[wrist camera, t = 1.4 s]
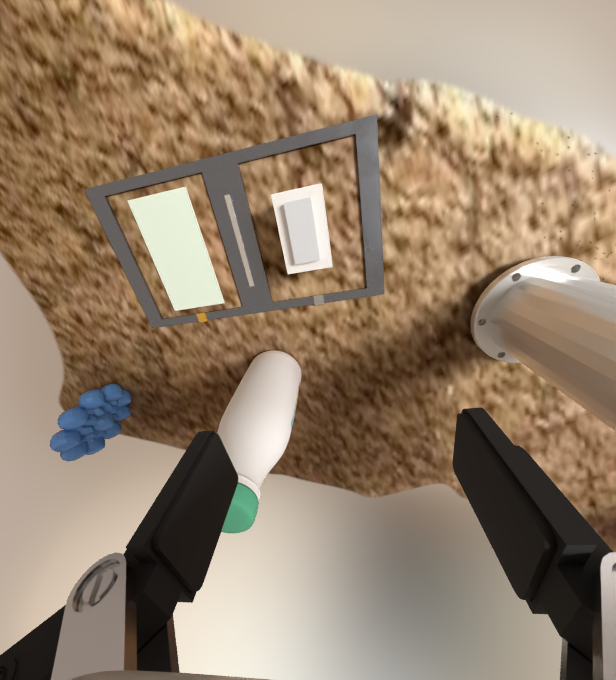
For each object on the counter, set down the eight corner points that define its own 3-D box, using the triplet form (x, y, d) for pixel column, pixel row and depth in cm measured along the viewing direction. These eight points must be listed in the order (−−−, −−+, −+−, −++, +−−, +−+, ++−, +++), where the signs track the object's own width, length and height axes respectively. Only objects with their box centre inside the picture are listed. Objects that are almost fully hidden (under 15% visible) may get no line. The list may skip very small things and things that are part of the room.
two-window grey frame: (376, 115, 22) (377, 113, 22) (383, 294, 30) (384, 295, 29) (86, 189, 27) (82, 189, 27) (153, 327, 34) (151, 329, 34)
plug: (323, 191, 25) (321, 182, 20) (331, 259, 28) (332, 268, 23) (280, 200, 26) (267, 193, 21) (293, 265, 29) (285, 275, 23)
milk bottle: (241, 358, 35) (151, 498, 18) (287, 341, 33) (239, 477, 16) (266, 397, 38) (210, 551, 20) (310, 383, 36) (291, 539, 18)
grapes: (99, 357, 38) (7, 412, 27) (142, 370, 38) (68, 429, 27) (104, 411, 43) (29, 474, 32) (142, 421, 43) (80, 488, 32)
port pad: (185, 187, 26) (185, 186, 26) (224, 302, 32) (224, 303, 32) (128, 200, 27) (127, 200, 27) (175, 310, 33) (174, 310, 33)
